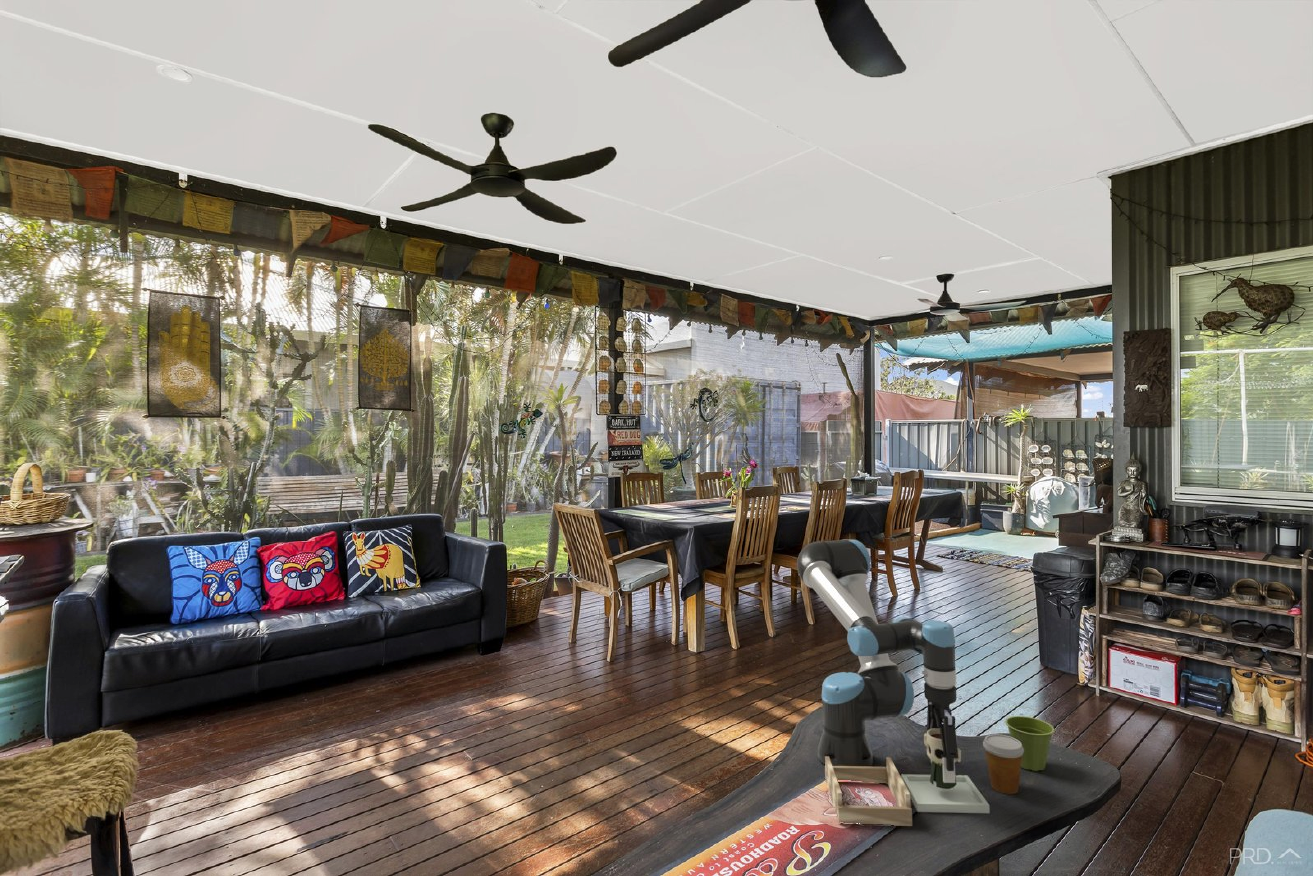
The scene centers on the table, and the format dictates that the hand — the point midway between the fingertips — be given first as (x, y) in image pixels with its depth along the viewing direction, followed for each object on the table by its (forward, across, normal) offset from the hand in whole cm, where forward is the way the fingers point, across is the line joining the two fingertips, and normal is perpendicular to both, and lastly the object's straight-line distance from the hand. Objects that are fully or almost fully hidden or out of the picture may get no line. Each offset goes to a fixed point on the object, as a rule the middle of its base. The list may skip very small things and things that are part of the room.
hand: (942, 772), depth 167 cm
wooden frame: (+6, +3, -20) cm, 21 cm away
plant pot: (+6, -17, +29) cm, 34 cm away
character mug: (+3, 0, 0) cm, 3 cm away
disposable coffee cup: (+6, -5, +17) cm, 19 cm away
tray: (+6, 0, 0) cm, 6 cm away
